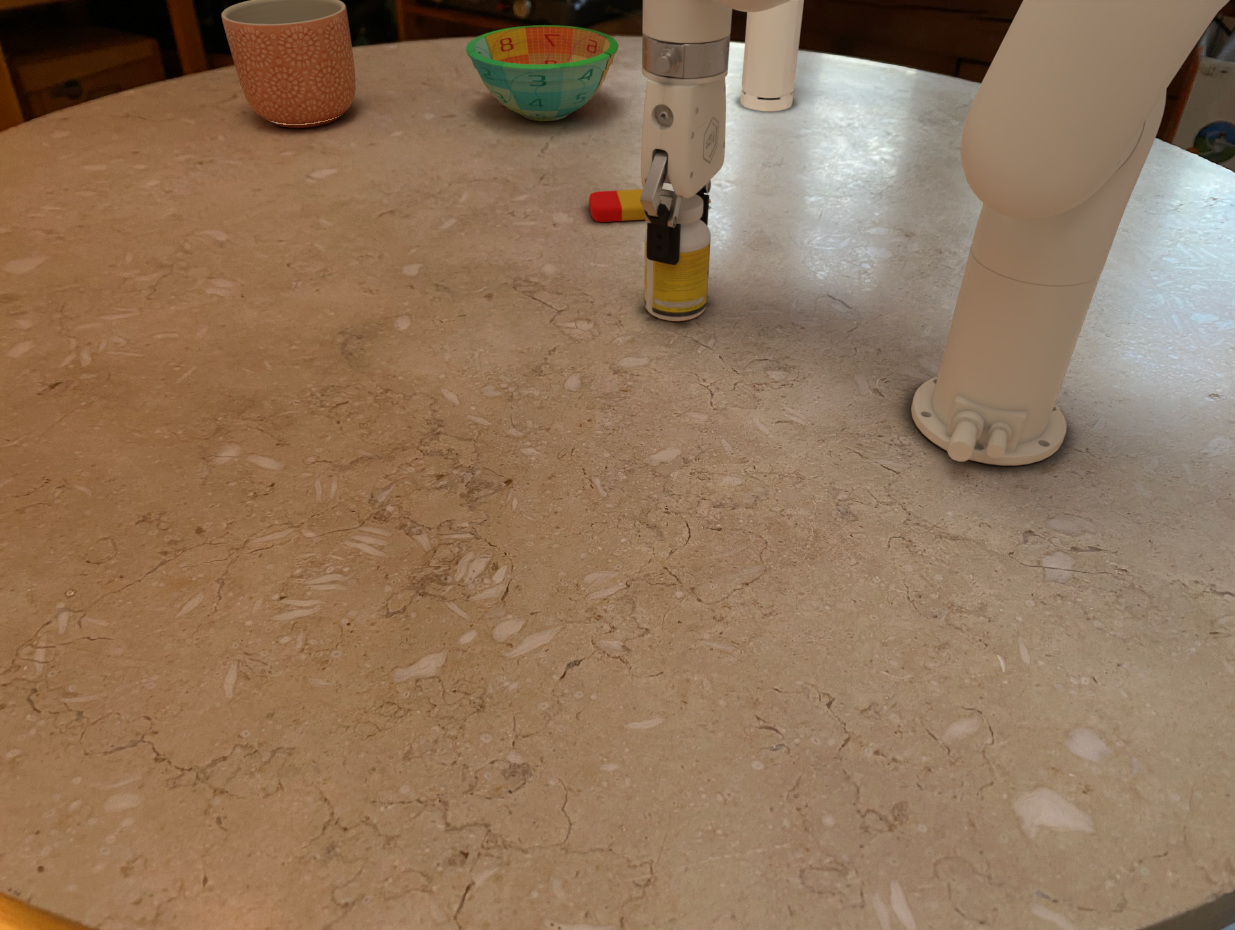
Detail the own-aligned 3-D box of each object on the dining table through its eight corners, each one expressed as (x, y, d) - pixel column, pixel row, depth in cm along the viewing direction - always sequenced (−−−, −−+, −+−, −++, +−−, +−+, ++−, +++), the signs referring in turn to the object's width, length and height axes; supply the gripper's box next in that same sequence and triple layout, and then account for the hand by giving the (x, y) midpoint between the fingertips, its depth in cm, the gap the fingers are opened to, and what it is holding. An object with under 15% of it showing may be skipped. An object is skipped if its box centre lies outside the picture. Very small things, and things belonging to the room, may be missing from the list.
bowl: (441, 119, 141) (433, 49, 135) (534, 82, 156) (530, 17, 149) (559, 150, 131) (556, 76, 125) (646, 107, 146) (648, 38, 139)
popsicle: (587, 205, 117) (587, 190, 116) (705, 199, 119) (706, 184, 117) (592, 224, 113) (592, 209, 112) (715, 217, 114) (716, 202, 113)
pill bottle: (713, 321, 95) (720, 212, 87) (650, 326, 94) (652, 217, 87) (698, 290, 100) (704, 185, 92) (638, 295, 99) (639, 189, 92)
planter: (386, 115, 143) (370, 7, 133) (291, 146, 133) (265, 31, 123) (320, 92, 152) (299, -11, 142) (225, 119, 142) (197, 11, 132)
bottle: (763, 91, 152) (782, -110, 134) (802, 103, 147) (827, -104, 129) (729, 102, 147) (744, -104, 130) (769, 115, 143) (790, -98, 125)
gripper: (688, 89, 74) (679, 292, 85) (758, 35, 86) (742, 219, 97) (602, 77, 76) (604, 275, 88) (683, 26, 89) (676, 206, 100)
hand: (677, 244), depth 92 cm, fingers open, 6 cm apart
